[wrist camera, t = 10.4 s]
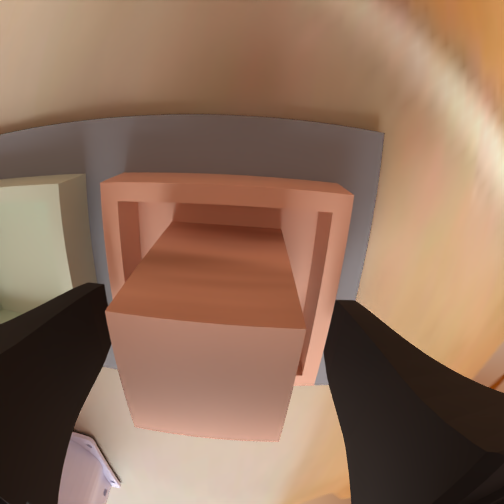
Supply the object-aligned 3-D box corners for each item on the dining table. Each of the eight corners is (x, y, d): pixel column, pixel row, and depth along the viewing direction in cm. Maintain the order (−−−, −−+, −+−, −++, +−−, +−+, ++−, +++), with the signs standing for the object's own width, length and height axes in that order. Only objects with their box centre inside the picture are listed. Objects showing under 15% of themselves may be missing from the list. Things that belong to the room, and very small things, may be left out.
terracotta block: (270, 320, 13) (278, 441, 7) (175, 312, 13) (134, 426, 7) (281, 229, 11) (306, 329, 6) (172, 221, 11) (104, 311, 6)
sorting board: (328, 376, 15) (338, 413, 13) (4, 334, 15) (-16, 358, 12) (378, 132, 11) (409, 135, 8) (-35, 143, 10) (-68, 152, 8)
